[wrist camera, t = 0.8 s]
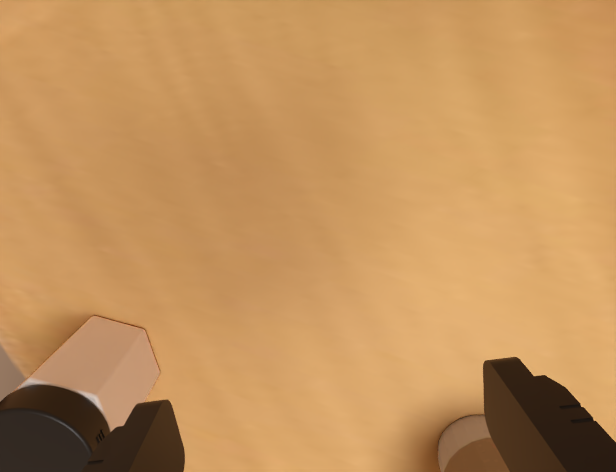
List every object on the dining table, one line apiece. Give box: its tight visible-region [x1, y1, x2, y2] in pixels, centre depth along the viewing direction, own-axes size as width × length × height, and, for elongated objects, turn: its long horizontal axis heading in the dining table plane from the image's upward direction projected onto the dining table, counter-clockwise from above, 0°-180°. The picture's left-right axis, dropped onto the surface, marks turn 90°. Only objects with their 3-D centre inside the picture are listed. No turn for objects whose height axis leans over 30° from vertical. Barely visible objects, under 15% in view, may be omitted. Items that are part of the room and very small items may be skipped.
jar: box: [0, 316, 160, 472], centre depth 33 cm, size 9×8×12 cm
